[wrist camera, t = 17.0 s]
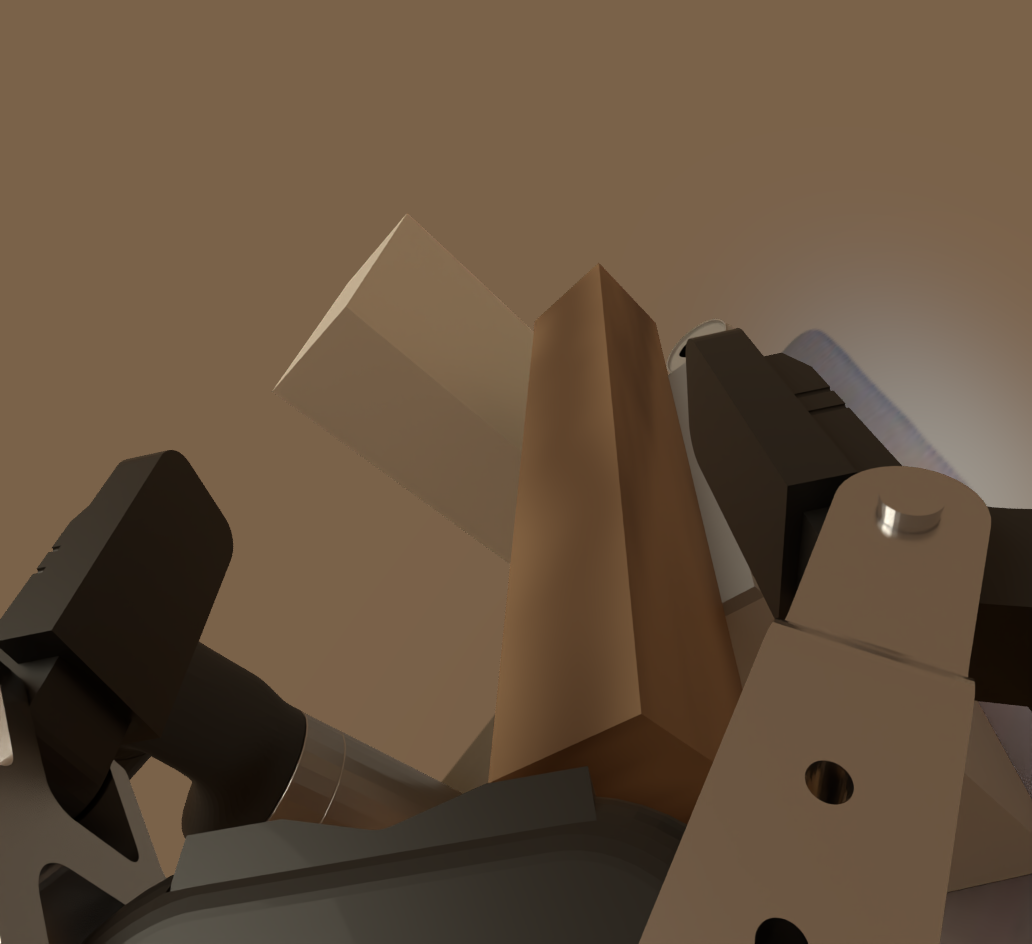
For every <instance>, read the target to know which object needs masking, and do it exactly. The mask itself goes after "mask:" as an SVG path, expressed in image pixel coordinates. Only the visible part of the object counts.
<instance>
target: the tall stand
mask: <svg viewBox="0 0 1032 944" xmlns="http://www.w3.org/2000/svg"><path fill="white" fill-rule="evenodd" d="M533 334H534V331H533V330H531V329H530V328H529V327H528V326H527V325H526V324H525V323H524V322H523V321H522V320H521V319H520V318H519V317H518V316H516V315H515V314H514V313H513V312H512V311H511V310H510V309H509V308H508V307H507V306H506V305H505V304H504V303H503V302H502V301H501V300H499V299H498V298H497V297H496V296H495V295H494V294H493V293H492V292H491V291H490V290H489V289H488V288H487V287H486V286H485V285H483V284H482V283H481V282H480V281H479V280H478V279H477V278H476V277H475V276H474V275H473V274H472V273H471V272H470V271H469V270H468V269H467V268H465V267H464V266H463V265H462V264H461V263H460V262H459V261H458V260H457V259H456V258H455V257H454V256H453V255H452V254H451V253H450V252H448V251H447V250H446V249H445V248H444V247H443V246H442V245H441V244H440V243H439V242H438V241H437V240H436V239H435V238H434V237H432V235H430V234H429V233H428V232H427V231H426V230H425V229H424V228H423V227H422V226H421V225H420V224H419V223H418V222H417V221H415V220H414V219H413V218H412V217H411V216H410V215H409V214H408V213H407V214H406V215H405V216H404V218H403V219H402V220H401V221H400V222H399V223H398V225H397V226H396V227H395V228H394V229H393V230H392V232H391V233H390V234H389V235H388V236H387V238H386V239H385V240H384V241H383V243H381V245H380V246H379V247H378V248H377V249H376V251H375V252H374V253H373V254H372V255H371V257H370V258H369V259H368V260H367V261H366V263H365V264H364V265H363V266H362V267H361V268H360V270H359V271H358V272H357V273H356V274H355V275H354V277H353V278H352V279H351V280H350V281H349V283H348V284H347V285H346V287H345V288H344V290H343V291H342V292H341V294H340V296H339V297H338V298H337V300H336V301H335V303H334V304H333V305H332V307H331V308H330V310H329V311H328V313H327V314H326V315H325V317H324V318H323V320H322V321H321V322H320V324H319V325H318V327H317V328H316V330H315V331H314V332H313V334H312V335H311V337H310V338H309V340H308V341H307V342H306V344H305V345H304V347H303V348H302V350H301V351H300V353H299V354H298V355H297V357H296V358H295V360H294V361H293V362H292V364H291V365H290V367H289V368H288V370H287V371H286V372H285V374H284V375H283V377H282V378H281V379H280V381H279V382H278V384H277V385H276V387H275V388H274V390H273V391H272V392H273V393H275V394H276V395H278V396H279V397H280V398H282V399H283V400H284V401H286V402H287V403H289V404H290V405H291V406H293V407H294V408H295V409H297V410H298V411H300V412H301V413H302V414H304V415H305V416H307V417H308V418H309V419H310V420H312V421H313V422H315V423H316V424H317V425H319V426H320V427H321V428H323V429H324V430H326V431H327V432H328V433H330V434H331V435H333V436H334V437H335V438H337V439H338V440H339V441H341V442H342V443H344V444H345V445H346V446H348V447H349V448H350V449H352V450H353V451H355V452H356V453H357V454H359V455H360V456H362V457H363V458H364V459H366V460H367V461H368V462H370V463H371V464H373V465H374V466H375V467H377V468H378V469H379V470H381V471H382V472H383V473H385V474H386V475H388V476H389V477H390V478H392V479H393V480H394V481H396V482H397V483H399V484H400V485H401V486H403V487H404V488H406V489H407V490H408V491H410V492H411V493H413V494H414V495H415V496H417V497H418V498H419V499H421V500H422V501H424V502H425V503H426V504H428V505H429V506H430V507H432V508H433V509H435V510H436V511H438V512H439V513H440V514H441V515H443V516H444V517H446V518H447V519H448V520H450V521H451V522H453V523H454V524H455V525H457V526H458V527H459V528H461V529H462V530H463V531H465V532H466V533H468V534H469V535H470V536H472V537H473V538H474V539H476V540H477V541H479V542H480V543H482V544H483V545H484V546H485V547H487V548H488V549H490V550H491V551H492V552H494V553H495V554H497V555H498V556H499V557H501V558H502V559H503V560H505V561H506V562H508V563H509V564H510V562H511V552H512V542H513V532H514V522H515V513H516V503H517V493H518V483H519V473H520V463H521V453H522V443H523V433H524V423H525V413H526V403H527V393H528V383H529V374H530V364H531V354H532V344H533Z"/></svg>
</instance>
